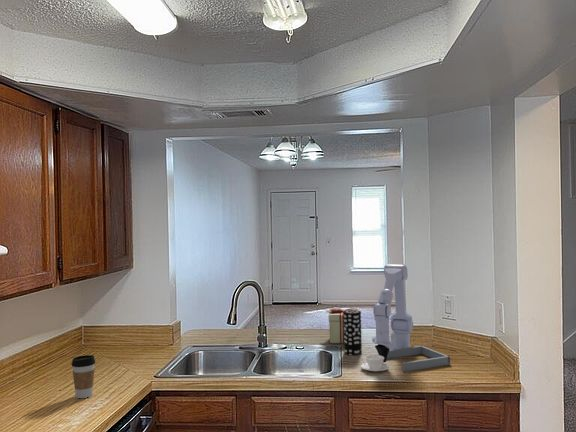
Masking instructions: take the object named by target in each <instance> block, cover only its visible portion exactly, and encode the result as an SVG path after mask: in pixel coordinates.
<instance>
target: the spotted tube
mask: <svg viewBox="0 0 576 432" xmlns="http://www.w3.org/2000/svg"><path fill="white" fill-rule="evenodd" d="M362 343H363V342H362V311H360V310H359V309H358V310H347V311H344V343H343V347H344V348H343V349H344V350H343V351H344V354H345V355H347V356H360V355H362V353H363V352H362V351H363V350H362V347H363V345H362Z"/></svg>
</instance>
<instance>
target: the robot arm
mask: <svg viewBox="0 0 576 432" xmlns="http://www.w3.org/2000/svg"><path fill="white" fill-rule="evenodd" d="M383 274H384V275H383V276H384V278H385V283H384V286H383V287H384V288H383V289H382V290H381V291H380V293H379V296H378V300H377V303H376V304H374V306H373V311H372V312H373V316H374V321H375V336H374V337H372V343H374V344H376V345H374V347H375V349H376V351H377V355H380V356H383V357H384V360H383V363H387V360H388V359H387V355H388V352H389V350H393V349H401V348H408V347H411V335H410V334H411V332H413V330H414V321H413V316H412V315H411V314H410V313H408V312H407V311H406V310H407V309H406V291H405V289H406V288H405V281H407V280H408V277H409V276H408V275H409V274H408V267H407V265H406V264H388V263H386V264H385V265H384V267H383ZM393 291H394V293H393ZM393 297H394V302H395V303H394V305H395V306H394V307H395V313H392V305H391V304H392V301H393ZM391 313H392V315H391ZM390 316H391V317H390ZM390 329H391V331H392V332H391V334H390Z"/></svg>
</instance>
